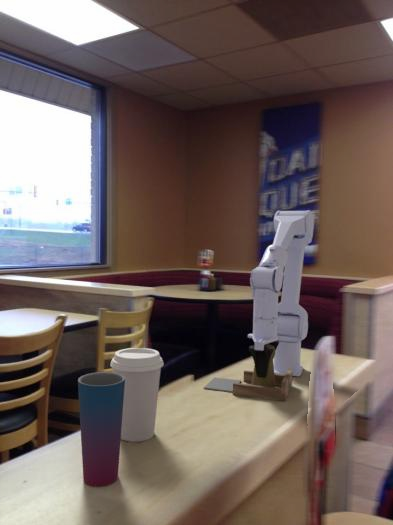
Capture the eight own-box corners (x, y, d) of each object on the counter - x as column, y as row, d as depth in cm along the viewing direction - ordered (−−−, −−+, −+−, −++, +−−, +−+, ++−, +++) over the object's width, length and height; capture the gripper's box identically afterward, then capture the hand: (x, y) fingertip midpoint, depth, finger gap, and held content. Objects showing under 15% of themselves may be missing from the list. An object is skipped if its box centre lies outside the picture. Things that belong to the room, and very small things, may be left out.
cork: (275, 386, 115) (276, 342, 115) (277, 394, 109) (278, 347, 109) (250, 385, 116) (251, 341, 115) (250, 393, 110) (252, 346, 109)
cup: (81, 467, 73) (81, 372, 72) (125, 466, 74) (126, 371, 73) (73, 490, 66) (74, 385, 66) (122, 489, 67) (123, 385, 66)
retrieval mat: (214, 378, 121) (214, 377, 121) (241, 381, 119) (241, 380, 119) (203, 388, 113) (203, 387, 113) (232, 392, 110) (232, 391, 110)
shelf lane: (244, 380, 120) (244, 364, 120) (292, 385, 116) (292, 369, 116) (232, 394, 109) (233, 377, 109) (285, 401, 105) (285, 383, 105)
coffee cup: (171, 429, 88) (173, 350, 87) (145, 450, 79) (146, 362, 79) (128, 420, 92) (129, 344, 91) (98, 439, 83) (99, 355, 83)
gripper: (254, 311, 120) (253, 364, 120) (241, 320, 106) (240, 380, 107) (282, 313, 117) (281, 367, 118) (273, 323, 104) (271, 384, 104)
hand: (263, 373), depth 112 cm, fingers closed on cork, 5 cm apart
